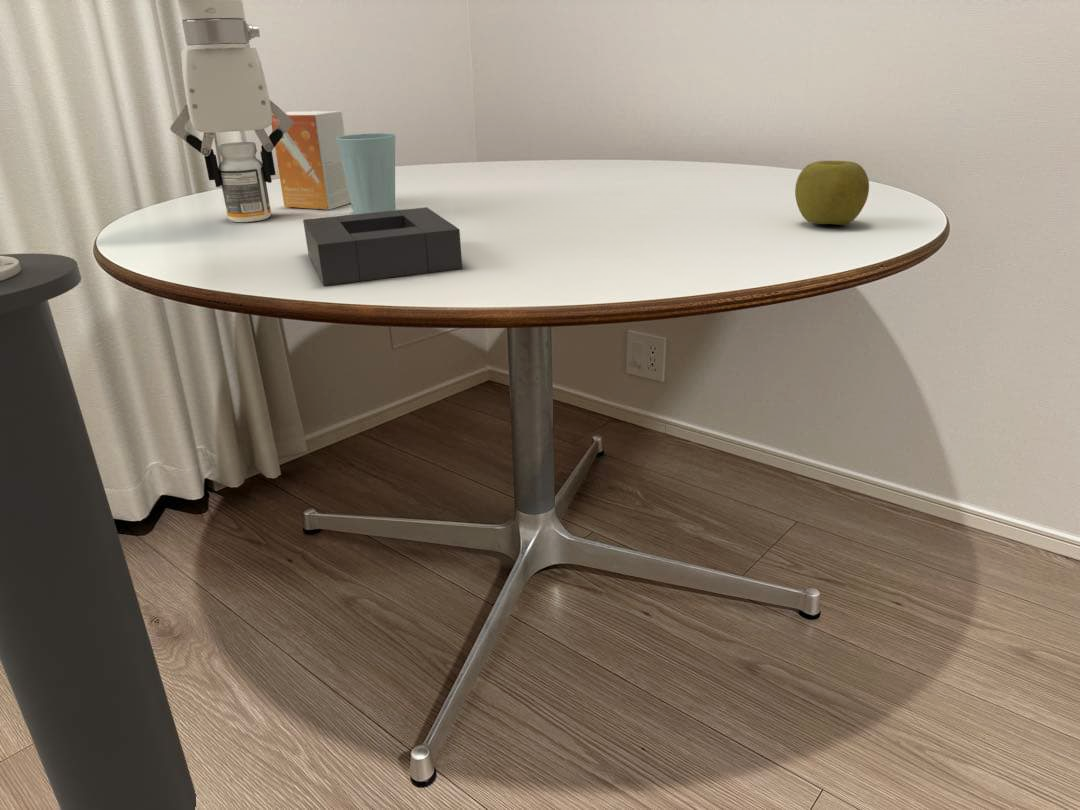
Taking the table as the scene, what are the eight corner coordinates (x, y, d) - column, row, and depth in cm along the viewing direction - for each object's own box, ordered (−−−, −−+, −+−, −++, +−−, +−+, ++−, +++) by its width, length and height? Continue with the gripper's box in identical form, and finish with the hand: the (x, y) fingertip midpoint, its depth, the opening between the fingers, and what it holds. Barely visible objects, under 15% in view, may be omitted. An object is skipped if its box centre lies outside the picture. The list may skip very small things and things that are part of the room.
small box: (283, 208, 116) (267, 114, 111) (310, 200, 121) (297, 110, 116) (328, 210, 113) (314, 113, 108) (354, 202, 118) (342, 110, 113)
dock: (323, 286, 75) (317, 244, 74) (308, 255, 87) (302, 219, 86) (462, 268, 80) (459, 228, 78) (430, 242, 92) (427, 207, 90)
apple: (791, 218, 97) (797, 157, 94) (861, 219, 95) (869, 157, 92) (792, 231, 90) (798, 166, 87) (866, 232, 88) (875, 166, 85)
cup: (335, 220, 106) (324, 138, 101) (363, 210, 112) (354, 132, 108) (385, 222, 103) (377, 138, 99) (412, 211, 110) (404, 133, 106)
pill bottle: (241, 215, 112) (228, 141, 108) (279, 215, 111) (267, 141, 107) (220, 223, 107) (205, 146, 103) (259, 223, 106) (245, 145, 102)
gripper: (285, 35, 105) (306, 174, 113) (144, 39, 100) (176, 185, 107) (289, 34, 99) (311, 181, 106) (140, 38, 94) (174, 193, 101)
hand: (243, 182), depth 107 cm, fingers closed on pill bottle, 5 cm apart
